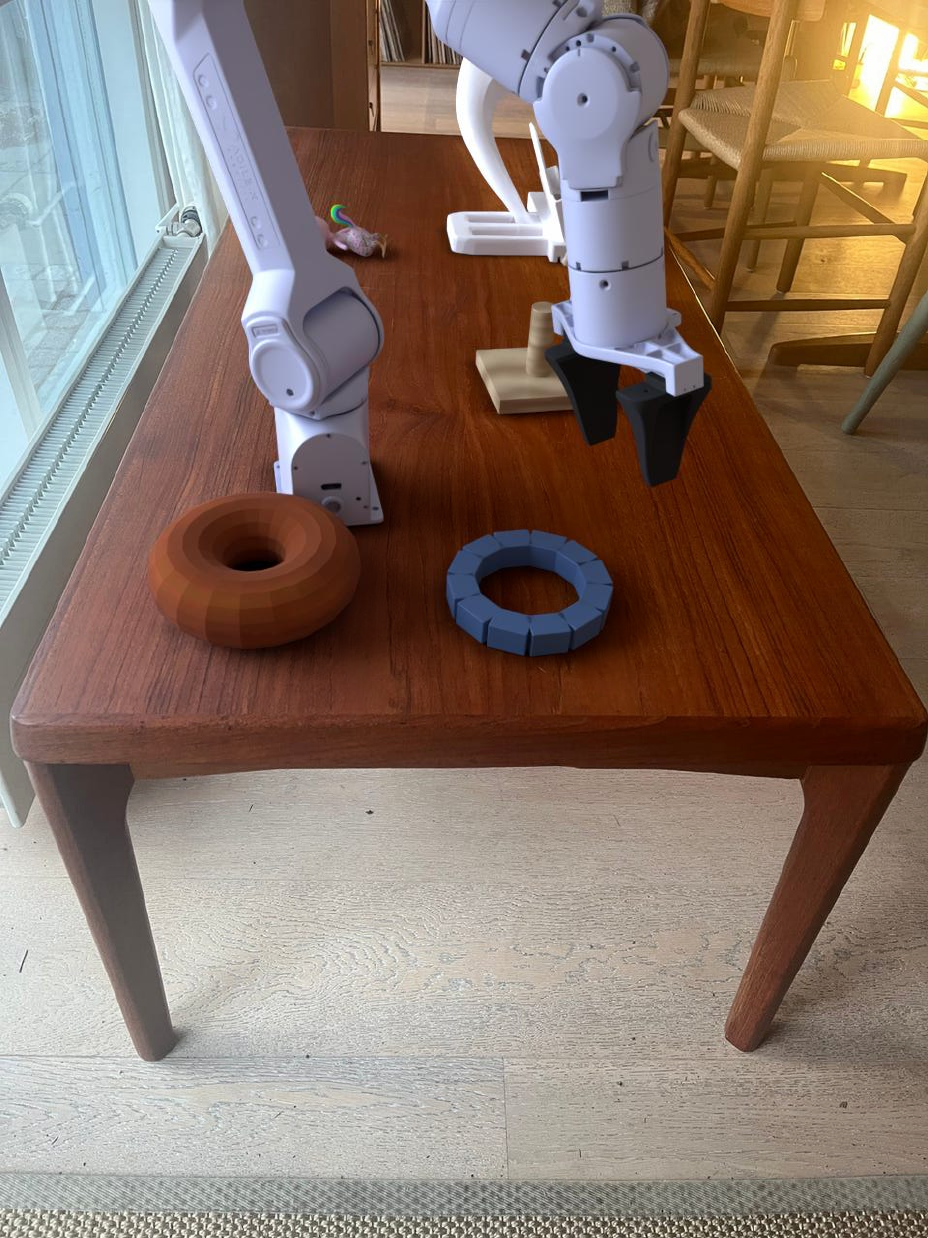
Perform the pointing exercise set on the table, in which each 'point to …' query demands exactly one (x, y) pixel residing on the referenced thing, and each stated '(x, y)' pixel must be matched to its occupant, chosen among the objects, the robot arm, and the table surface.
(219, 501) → the donut
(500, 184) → the jewelry stand
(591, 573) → the ring
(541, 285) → the table surface
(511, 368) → the stand
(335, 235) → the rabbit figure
